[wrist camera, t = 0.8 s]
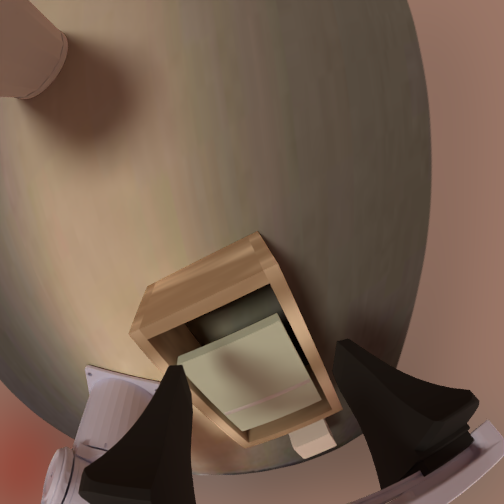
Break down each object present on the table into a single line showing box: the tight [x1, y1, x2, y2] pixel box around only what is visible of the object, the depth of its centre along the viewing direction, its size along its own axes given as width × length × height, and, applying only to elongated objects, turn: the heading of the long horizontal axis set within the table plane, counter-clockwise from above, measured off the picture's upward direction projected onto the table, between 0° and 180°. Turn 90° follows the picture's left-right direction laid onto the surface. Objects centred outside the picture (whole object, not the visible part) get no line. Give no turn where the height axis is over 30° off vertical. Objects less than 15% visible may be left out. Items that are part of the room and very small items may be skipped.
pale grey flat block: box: [177, 313, 322, 431], centre depth 18 cm, size 9×7×4 cm
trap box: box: [129, 231, 342, 449], centre depth 20 cm, size 15×9×6 cm, turn 25°
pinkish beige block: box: [289, 418, 337, 459], centre depth 26 cm, size 4×4×6 cm
